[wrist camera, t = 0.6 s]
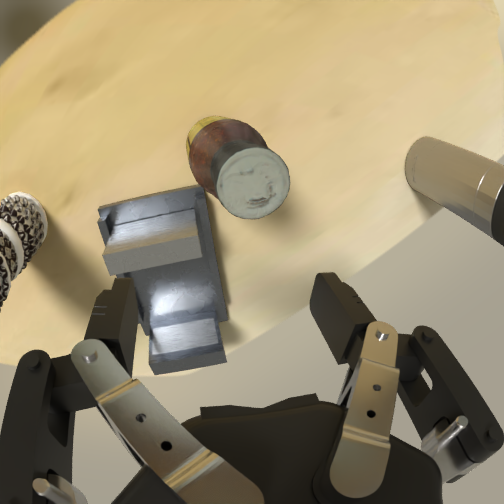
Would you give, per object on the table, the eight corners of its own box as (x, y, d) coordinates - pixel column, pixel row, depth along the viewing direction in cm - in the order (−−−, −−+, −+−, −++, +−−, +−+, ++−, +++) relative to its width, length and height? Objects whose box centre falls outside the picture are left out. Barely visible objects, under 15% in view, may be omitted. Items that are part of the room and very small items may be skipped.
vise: (202, 183, 35) (209, 211, 27) (227, 315, 45) (238, 359, 38) (99, 206, 33) (79, 240, 25) (146, 331, 44) (144, 376, 36)
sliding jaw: (194, 208, 35) (197, 235, 29) (197, 228, 36) (202, 257, 30) (114, 226, 33) (102, 255, 27) (120, 244, 34) (110, 276, 29)
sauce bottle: (229, 173, 35) (281, 259, 18) (178, 159, 32) (177, 235, 16) (248, 122, 32) (327, 157, 15) (197, 105, 30) (217, 116, 13)
